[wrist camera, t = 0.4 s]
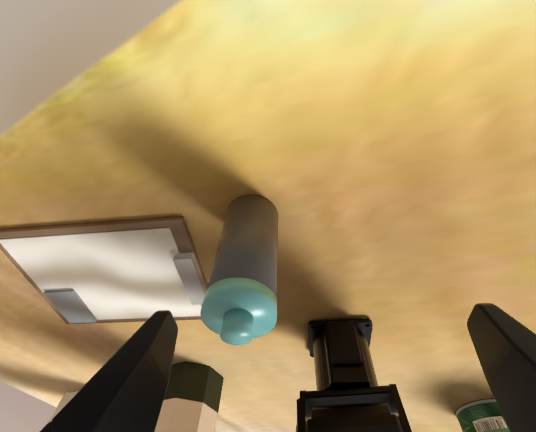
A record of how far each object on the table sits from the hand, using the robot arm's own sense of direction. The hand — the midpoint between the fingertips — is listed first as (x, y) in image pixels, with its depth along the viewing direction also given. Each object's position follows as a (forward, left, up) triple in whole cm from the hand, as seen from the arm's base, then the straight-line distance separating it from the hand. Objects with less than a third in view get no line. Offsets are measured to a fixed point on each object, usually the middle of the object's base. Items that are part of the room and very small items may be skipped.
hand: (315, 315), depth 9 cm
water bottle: (-6, +4, -13) cm, 15 cm away
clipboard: (-12, +18, -13) cm, 25 cm away
